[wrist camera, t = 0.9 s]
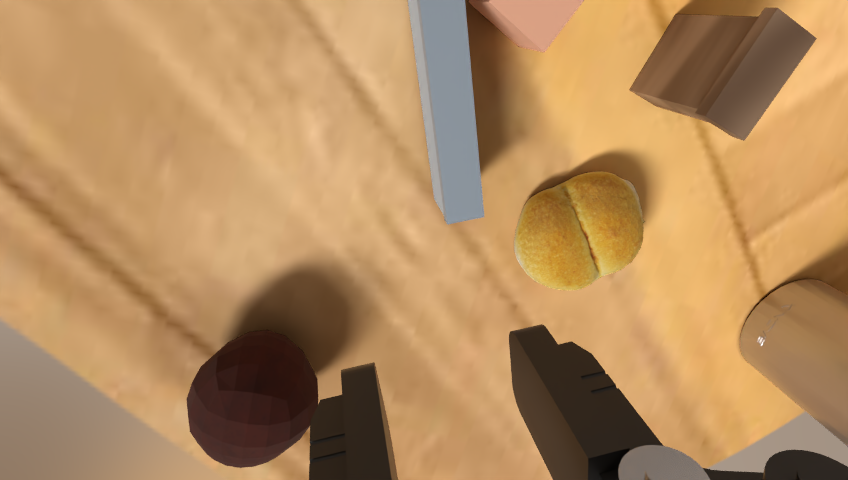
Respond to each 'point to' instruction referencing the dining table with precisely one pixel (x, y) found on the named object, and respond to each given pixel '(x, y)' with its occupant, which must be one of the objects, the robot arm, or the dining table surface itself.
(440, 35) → the grey rectangular bar
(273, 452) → the dark maroon ball
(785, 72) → the stepped wooden slab
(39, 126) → the dining table surface
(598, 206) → the bread roll
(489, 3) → the block
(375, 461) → the robot arm
